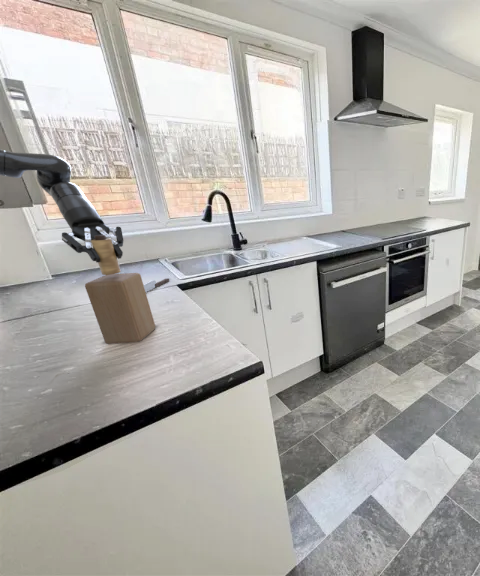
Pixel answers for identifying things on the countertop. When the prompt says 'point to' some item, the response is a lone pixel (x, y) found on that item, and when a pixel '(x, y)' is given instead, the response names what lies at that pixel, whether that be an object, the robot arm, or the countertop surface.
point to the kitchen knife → (154, 284)
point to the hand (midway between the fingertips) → (109, 258)
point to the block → (121, 307)
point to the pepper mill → (106, 255)
